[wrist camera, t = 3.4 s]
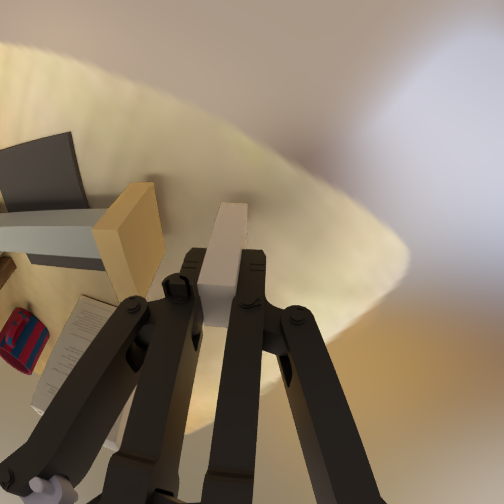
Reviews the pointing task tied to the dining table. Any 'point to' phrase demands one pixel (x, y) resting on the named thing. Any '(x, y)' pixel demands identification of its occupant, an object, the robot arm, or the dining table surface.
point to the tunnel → (6, 269)
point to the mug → (23, 340)
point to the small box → (68, 354)
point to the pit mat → (45, 187)
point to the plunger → (97, 237)
